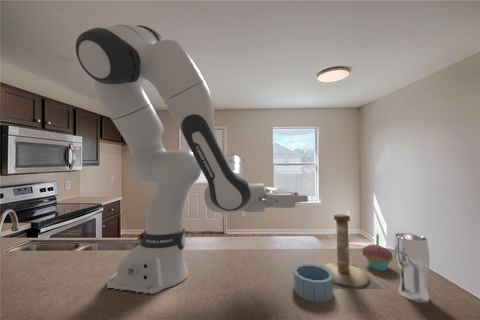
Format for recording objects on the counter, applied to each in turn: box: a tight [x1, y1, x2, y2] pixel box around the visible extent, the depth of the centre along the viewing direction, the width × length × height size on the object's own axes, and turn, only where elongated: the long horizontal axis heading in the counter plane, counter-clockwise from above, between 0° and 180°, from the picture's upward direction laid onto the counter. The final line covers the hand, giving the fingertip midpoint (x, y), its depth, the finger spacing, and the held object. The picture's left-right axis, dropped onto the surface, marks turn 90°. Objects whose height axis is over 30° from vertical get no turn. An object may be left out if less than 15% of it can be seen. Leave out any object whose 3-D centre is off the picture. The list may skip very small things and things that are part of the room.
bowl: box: [292, 263, 335, 303], centre depth 56 cm, size 10×10×5 cm
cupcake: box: [362, 232, 394, 271], centre depth 70 cm, size 9×8×12 cm
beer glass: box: [394, 232, 430, 303], centre depth 54 cm, size 7×7×15 cm
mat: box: [317, 264, 383, 290], centre depth 64 cm, size 14×14×1 cm
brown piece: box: [322, 213, 370, 287], centre depth 65 cm, size 13×13×18 cm
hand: (302, 196), depth 66 cm, fingers open, 8 cm apart
